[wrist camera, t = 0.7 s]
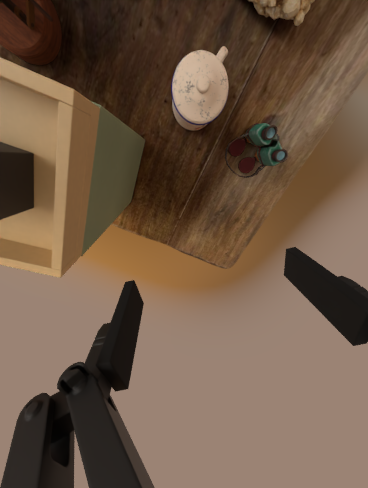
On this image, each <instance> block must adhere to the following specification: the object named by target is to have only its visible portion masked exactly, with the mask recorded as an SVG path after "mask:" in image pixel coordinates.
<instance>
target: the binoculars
mask: <svg viewBox="0 0 368 488" xmlns="http://www.w3.org/2000/svg"><path fill="white" fill-rule="evenodd" d="M243 137H245V139H243V140H242V139H239V138H243ZM245 142H248V143H251V144H252V145H254V146H255V147H256V146H257V147H258V150H257V151H256V153H255V157H254V158H251V157H247V158H244V159H242V160H241V161H240V163H239V170H240V171H241V172H243V173H249V172H250V171H251V170H252V169H253V168H254V166H255V160H258V161H259V162H260V164H262V165H261V166H262V169H263V168H264V166H275V165H277V164H279V163H281V162H284V161H285V160H286V159H287V158H288V152H287V151H286V150H284V149H282V147H281V145H280V143H279V136H278V134H277V127H276V126H275V125H272V126H270V125H269V124H266V123H263V124H258V123H256V124H254V125H253V126H251V127H250V128H249V129H248V130H247V131H246V133H245V134H244V135H241V136H240V137H237V139H234V140H233V141H231V142H230V143H229V144H228V146H227V148H226V154H225V159H226V163H227V165H228V167H229V168H230V166H229V164H228V161H227V149H228V150H229V153H230V154H231V155H232V156H239V155H241V154H242V152H243V151H244V149H245V146H246V143H245ZM260 146H261V147H260ZM261 166H260V167H261ZM260 167H258V169H257V170H256V172H255V173H254V174H253V175H251V176H246V177H245V176H240V175H238V174H237V175H238V176H240V177H245V178H248V177H253V176H254V175H257V174H258V172H259V171H260V170H262V169H261V168H260ZM230 169H231V168H230ZM231 170H232V169H231ZM232 171H233V170H232ZM233 172H234V171H233ZM234 173H235V172H234ZM235 174H236V173H235Z"/></svg>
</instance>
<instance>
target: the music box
mask: <svg viewBox="0 0 368 488" xmlns="http://www.w3.org/2000/svg"><path fill="white" fill-rule="evenodd" d="M61 41H62V32H61V25H60V21H59V17H58V14H57V12H56V9H55V7H54V5H53V3H52V1H51V0H0V44H1V45H2V46H3V47H4V48H6V49H7V50H9V51H10V52H12V53H13V54H15V55H16V56H18V57H19V58H21V59H22V60H24V61H26V62H28V63H31V64H34V65H45V64H48V63H50V62H51V61H53V60H54V59H55V58H56V56H57V55H58V53H59V50H60V47H61Z"/></svg>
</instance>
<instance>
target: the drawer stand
mask: <svg viewBox="0 0 368 488" xmlns="http://www.w3.org/2000/svg"><path fill="white" fill-rule="evenodd" d="M0 142H2V143H5V144H8V145H11V146H14V147H17V148H20V149H23V150H26V151H29V152H32V153H34V208H32V209H29V210H27V211H24V212H21V213H18V214H16V215H13V216H10V217H7V218H4V219H2V220H0V265H4V266H9V267H13V268H18V269H23V270H27V271H32V272H36V273H41V274H46V275H51V276H55V277H62V275H64V274H65V272H66V271H67V270H68V269H69V268H70V267H71V266H72V265H73V264H74V263H75V262H76V261H77V260H78V258H79V257H80V256H82V255H83V254H84V253H85V252H86V251H87V249H89V247H91V245H92V244H93V243H94V242H95V241H96V240H97V239H98V238H99V237H100V236H101V234H102V233H103V232H104V231H105V230H106V229H107V228H108V227H109V226H110V225H111V223H112V222H113V221H114V220H115V219H116V218H117V217H118V216H119V215H120V214H121V212H122V211H123V210H124V209H125V208H126V207H127V206H128V205H129V204H130V203H131V200H132V196H133V192H134V187H135V183H136V178H137V174H138V170H139V165H140V161H141V157H142V152H143V148H144V144H145V139H144V138H142V137H141V136H140V135H138V134H137V133H136V132H134V131H133V130H132V129H131V128H129V127H128V126H127V125H125V124H124V123H123V122H122V121H120V120H119V119H118V118H116V117H115V116H114V115H112V114H111V113H110V112H109V111H107V110H106V109H105V108H103V107H102V106H101V105H99V104H97V103H94V102H92V101H90V100H88V99H87V98H85V97H84V96H83V95H81V94H80V93H78V92H77V91H76V90H74V89H72V88H70V87H68V86H65V85H63V84H61V83H58V82H56V81H54V80H51V79H49V78H47V77H44V76H42V75H40V74H37V73H35V72H33V71H31V70H28V69H26V68H24V67H21V66H19V65H17V64H14V63H12V62H10V61H7V60H5V59H3V58H1V57H0Z"/></svg>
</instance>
